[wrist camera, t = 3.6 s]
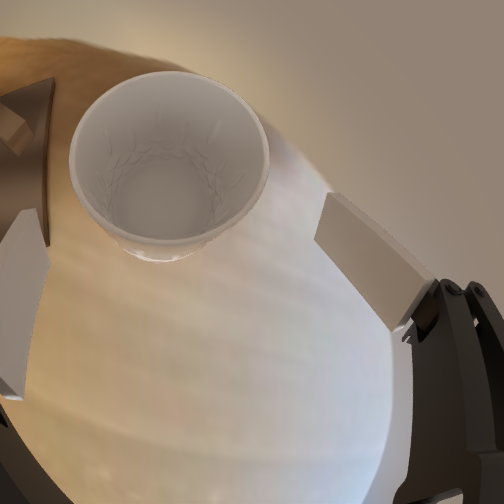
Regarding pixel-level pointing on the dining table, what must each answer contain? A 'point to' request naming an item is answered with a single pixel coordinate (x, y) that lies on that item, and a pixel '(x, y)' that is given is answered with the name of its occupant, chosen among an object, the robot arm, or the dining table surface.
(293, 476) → the dining table surface
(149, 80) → the white cup
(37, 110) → the brown flat square slab
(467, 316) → the robot arm
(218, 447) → the dining table surface
